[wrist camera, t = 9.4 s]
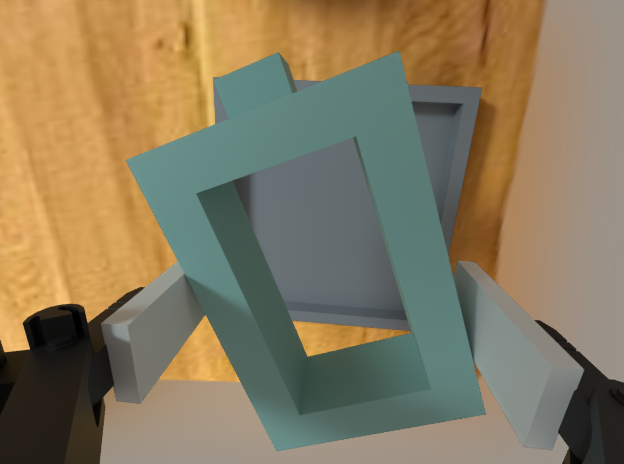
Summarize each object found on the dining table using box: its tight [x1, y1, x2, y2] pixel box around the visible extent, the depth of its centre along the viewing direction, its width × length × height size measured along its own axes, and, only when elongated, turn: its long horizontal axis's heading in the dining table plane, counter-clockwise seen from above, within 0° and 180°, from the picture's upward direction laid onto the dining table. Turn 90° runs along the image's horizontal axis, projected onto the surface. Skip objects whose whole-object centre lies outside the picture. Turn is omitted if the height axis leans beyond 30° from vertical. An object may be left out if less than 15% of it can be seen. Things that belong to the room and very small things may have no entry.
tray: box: [213, 77, 482, 331], centre depth 25 cm, size 19×18×2 cm
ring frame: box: [126, 51, 486, 451], centre depth 13 cm, size 15×9×4 cm, turn 19°
